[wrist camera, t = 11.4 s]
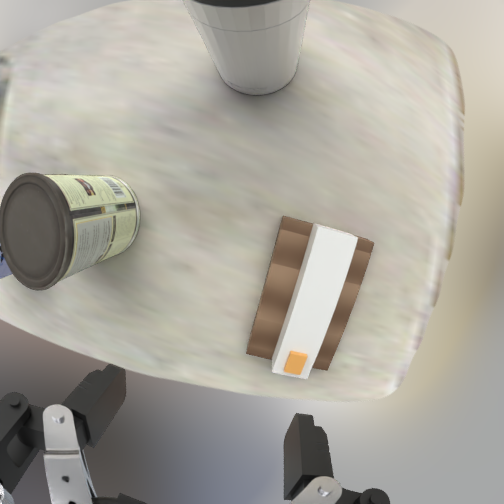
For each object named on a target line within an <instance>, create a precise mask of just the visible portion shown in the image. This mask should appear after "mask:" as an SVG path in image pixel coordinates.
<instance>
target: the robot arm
mask: <svg viewBox="0 0 504 504" xmlns="http://www.w3.org/2000/svg"><path fill="white" fill-rule="evenodd" d="M183 2H184V4H185V6H186V8H187V9H188V11H189V13H190V15H191V17H192V19H193V21H194V23H195V25H196V27H197V29H198V31H199V33H200V35H201V37H202V39H203V41H204V43H205V45H206V47H207V49H208V51H209V53H210V55H211V57H212V59H213V62H214V64H215V66H216V68H217V70H218V72H219V74H220V76H221V78H222V79H223V80H224V82H225V83H226V84H227V85H229V86H230V87H231V88H232V89H234V90H236V91H238V92H241V93H245V94H250V95H264V94H269V93H273V92H275V91H277V90H279V89H281V88H283V87H284V86H285V85H287V84H288V83H289V82H290V81H291V79H292V78H293V77H294V75H295V73H296V70H297V65H298V60H299V55H300V51H301V46H302V40H303V35H304V30H305V24H306V19H307V14H308V8H309V3H310V0H183ZM125 396H126V377H125V369H123V368H120V367H118V366H115V365H112V364H109V365H108V366H107V367H106V368H105V369H104V370H103V371H100V370H96V371H93V372H91V373H89V374H88V375H87V376H86V377H85V378H84V380H83V381H82V382H81V383H80V384H79V386H77V387H76V388H75V390H74V391H73V392H72V393H71V394H70V395H69V396H68V397H67V399H66V400H65V401H64V402H63V403H62V404H61V405H51V406H49V407H47V408H46V409H44V408H40V407H37V406H33V405H30V404H29V403H28V400H27V398H26V397H25V396H24V395H23V394H20V393H17V392H12V393H9V394H7V395H5V396H4V397H3V398H2V399H1V400H0V504H14V501H13V498H12V496H11V493H12V492H13V490H14V489H15V487H16V485H17V484H18V482H19V481H20V479H21V478H22V476H23V474H24V473H25V471H26V470H27V468H28V467H29V465H30V464H31V462H32V461H33V459H34V458H35V456H36V455H37V453H38V452H39V450H40V449H42V450H45V451H46V452H44V463H45V470H46V476H47V481H48V486H49V492H50V496H51V501H52V504H146V503H145V502H141V501H139V500H136V499H134V498H131V497H129V496H126V495H123V494H121V493H120V494H119V496H118V498H116V497H97V496H96V493H95V490H94V487H93V485H92V482H91V478H90V475H89V471H88V467H87V464H86V460H85V456H84V451H83V449H84V447H85V446H86V444H87V445H89V446H91V447H93V448H94V447H95V446H96V444H97V442H98V441H99V439H100V438H101V436H102V435H103V433H104V432H105V430H106V428H107V427H108V425H109V424H110V422H111V421H112V419H113V418H114V416H115V414H116V413H117V411H118V410H119V408H120V407H121V405H122V404H123V402H124V400H125ZM284 500H291V503H290V504H390V501H389V497H388V496H387V494H386V493H385V492H384V491H382V490H380V489H375V488H372V489H368V490H366V491H364V492H363V493H358V492H354V491H350V490H346V489H344V488H342V487H341V485H340V483H339V482H338V481H337V480H335V479H334V476H333V471H332V464H331V458H330V453H329V446H328V440H327V435H326V433H325V432H324V430H323V429H322V427H319V426H314V420H313V416H312V415H306V414H299V413H296V414H295V416H294V418H293V420H292V422H291V424H290V427H289V429H288V431H287V433H286V436H285V439H284Z"/></svg>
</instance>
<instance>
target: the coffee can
mask: <svg viewBox="0 0 504 504" xmlns="http://www.w3.org/2000/svg"><path fill="white" fill-rule="evenodd" d="M139 222H140V210H139V204H138V201H137V198H136V196H135V194H134V192H133V191H132V189H131V188H130V187H129V186H128V185H127V184H126V183H125V182H124V181H123V180H121V179H119V178H117V177H114V176H108V175H105V176H95V175H66V174H39V173H25V174H22V175H20V176H18V177H17V178H16V179H15V180H14V181H13V182H12V183H11V184H10V186H9V187H8V189H7V190H6V192H5V194H4V197H3V199H2V202H1V206H0V245H1V249H2V253H3V256H4V258H5V261H6V263H7V265H8V267H9V269H10V270H11V272H12V274H13V275H14V276H15V277H16V278H17V280H18V281H19V282H21V283H22V284H23V285H24V286H26V287H28V288H30V289H33V290H45V289H48V288H50V287H52V286H53V285H55V284H56V283H57V282H59V281H61V280H63V279H65V278H67V277H69V276H71V275H73V274H75V273H77V272H80V271H82V270H84V269H86V268H88V267H90V266H92V265H94V264H96V263H99V262H101V261H103V260H105V259H107V258H109V257H112V256H115V255H118V254H120V253H122V252H124V251H125V250H126V249H127V248H128V247H129V246H130V245H131V244H132V242H133V241H134V239H135V237H136V235H137V232H138V228H139Z"/></svg>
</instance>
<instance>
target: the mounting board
mask: <svg viewBox="0 0 504 504" xmlns="http://www.w3.org/2000/svg"><path fill="white" fill-rule="evenodd" d="M312 227H313V224H312V223H309V222H305V221H301V220H297V219H294V218H290V217H286V216H283V217H282V221H281V225H280V228H279V232H278V236H277V240H276V244H275V247H274V251H273V255H272V259H271V262H270V266H269V270H268V273H267V277H266V281H265V284H264V288H263V292H262V295H261V299H260V303H259V306H258V310H257V313H256V317H255V320H254V324H253V328H252V331H251V335H250V338H249V342H248V346H247V352H246V354H249V355H253V356H258V357H262V358H266V359H271V360H272V357H273V354H274V351H275V348H276V345H277V342H278V339H279V336H280V333H281V330H282V327H283V324H284V321H285V318H286V314H287V311H288V308H289V305H290V302H291V299H292V295H293V292H294V289H295V286H296V282H297V279H298V276H299V272H300V269H301V266H302V262H303V259H304V255H305V252H306V249H307V245H308V242H309V238H310V234H311V231H312ZM354 236H355V235H354ZM356 237H358V236H356ZM373 246H374V242H372V241H370V240H368V239H365V238H361V237H358V240H357V244H356V247H355V250H354V254H353V257H352V260H351V263H350V266H349V270H348V273H347V276H346V279H345V282H344V285H343V288H342V291H341V293H340V296H339V299H338V302H337V305H336V308H335V310H334V313H333V316H332V319H331V321H330V324H329V327H328V329H327V332H326V334H325V337H324V339H323V342H322V345H321V347H320V350H319V352H318V354H317V357H316V359H315V362H314V364H313V366H312V368H316V369H321V370H328V368H329V365H330V363H331V361H332V358H333V356H334V354H335V351H336V349H337V347H338V344H339V342H340V339H341V337H342V334H343V332H344V329H345V327H346V324H347V322H348V319H349V316H350V314H351V311H352V308H353V306H354V303H355V300H356V298H357V295H358V292H359V289H360V286H361V283H362V280H363V277H364V274H365V271H366V268H367V265H368V262H369V259H370V256H371V252H372V249H373Z"/></svg>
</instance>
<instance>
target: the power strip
mask: <svg viewBox="0 0 504 504" xmlns="http://www.w3.org/2000/svg"><path fill="white" fill-rule="evenodd" d="M357 240H358V237H356V236H354V235H352V234H350V233H347V232H343V231H340V230H337V229H333V228H330V227H326V226H323V225H319V224H315V223H314V224H313V227H312V231H311V234H310V238H309V242H308V245H307V249H306V252H305V255H304V259H303V262H302V266H301V269H300V272H299V276H298V279H297V282H296V286H295V289H294V292H293V295H292V299H291V302H290V305H289V308H288V311H287V314H286V318H285V321H284V324H283V327H282V330H281V333H280V336H279V339H278V342H277V345H276V348H275V351H274V354H273V357H272V373H277V374H282V375H287V376H292V377H297V378H302V379H307V378H308V376H309V374H310V371H311V369H312V366H313V364H314V362H315V359H316V357H317V354H318V352H319V350H320V347H321V345H322V342H323V339H324V337H325V334H326V332H327V329H328V327H329V324H330V321H331V319H332V316H333V313H334V310H335V308H336V305H337V302H338V299H339V296H340V293H341V291H342V288H343V285H344V282H345V279H346V276H347V273H348V270H349V266H350V263H351V260H352V257H353V254H354V250H355V247H356V244H357Z"/></svg>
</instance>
